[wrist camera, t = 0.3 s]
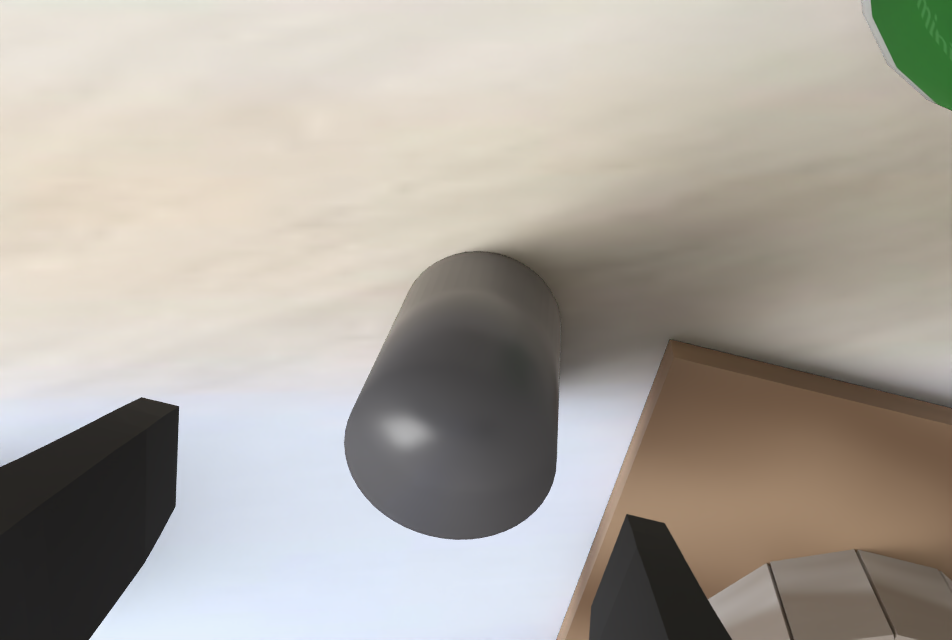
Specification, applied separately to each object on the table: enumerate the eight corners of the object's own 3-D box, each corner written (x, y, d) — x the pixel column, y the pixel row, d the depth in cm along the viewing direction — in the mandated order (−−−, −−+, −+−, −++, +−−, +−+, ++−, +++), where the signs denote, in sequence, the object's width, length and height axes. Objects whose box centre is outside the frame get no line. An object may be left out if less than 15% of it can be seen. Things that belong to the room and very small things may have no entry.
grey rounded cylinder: (538, 410, 22) (527, 559, 17) (390, 373, 22) (332, 511, 17) (580, 273, 20) (582, 394, 15) (416, 234, 20) (360, 339, 15)
